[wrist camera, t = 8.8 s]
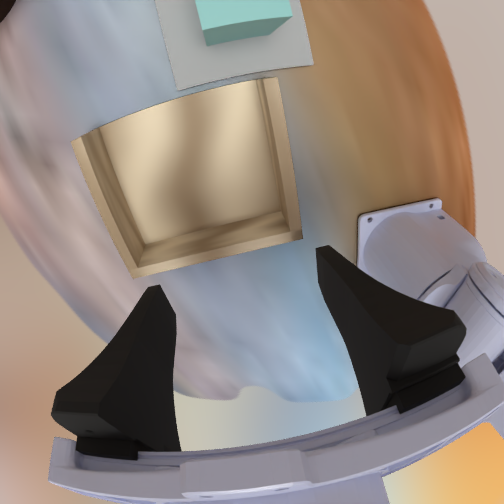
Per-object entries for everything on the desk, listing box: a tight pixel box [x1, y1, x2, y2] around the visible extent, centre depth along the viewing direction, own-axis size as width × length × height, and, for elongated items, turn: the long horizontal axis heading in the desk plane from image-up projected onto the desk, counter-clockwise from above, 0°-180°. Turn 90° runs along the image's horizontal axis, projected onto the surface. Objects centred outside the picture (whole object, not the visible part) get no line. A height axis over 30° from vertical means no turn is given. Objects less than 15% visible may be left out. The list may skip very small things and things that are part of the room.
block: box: [195, 0, 293, 46], centre depth 10 cm, size 4×4×6 cm
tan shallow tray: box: [71, 77, 303, 279], centre depth 18 cm, size 13×11×4 cm
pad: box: [155, 0, 314, 91], centre depth 13 cm, size 9×9×1 cm
